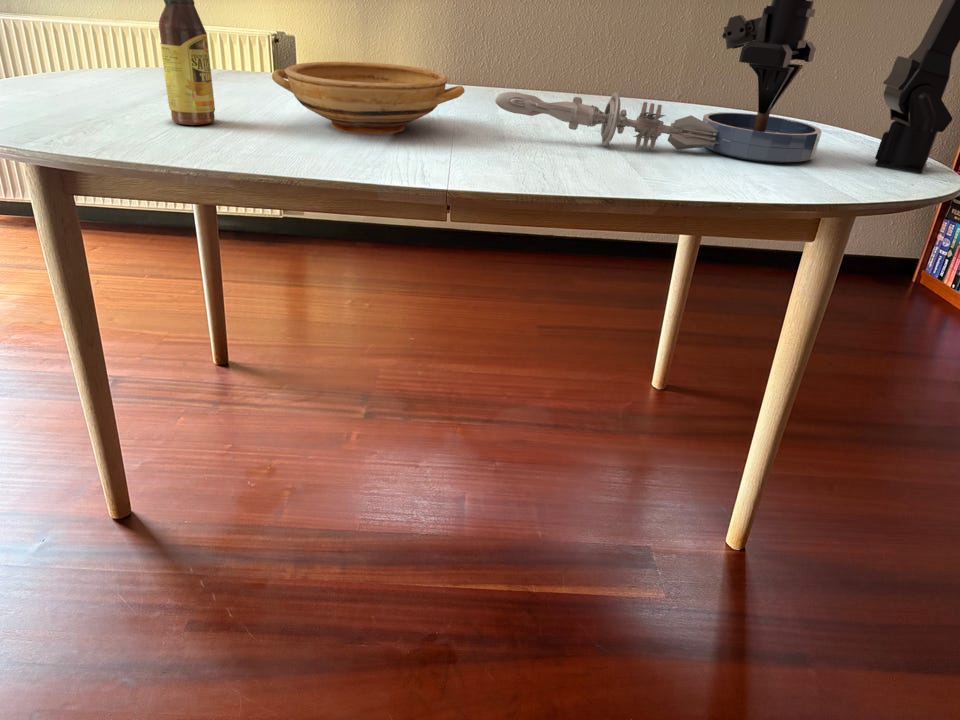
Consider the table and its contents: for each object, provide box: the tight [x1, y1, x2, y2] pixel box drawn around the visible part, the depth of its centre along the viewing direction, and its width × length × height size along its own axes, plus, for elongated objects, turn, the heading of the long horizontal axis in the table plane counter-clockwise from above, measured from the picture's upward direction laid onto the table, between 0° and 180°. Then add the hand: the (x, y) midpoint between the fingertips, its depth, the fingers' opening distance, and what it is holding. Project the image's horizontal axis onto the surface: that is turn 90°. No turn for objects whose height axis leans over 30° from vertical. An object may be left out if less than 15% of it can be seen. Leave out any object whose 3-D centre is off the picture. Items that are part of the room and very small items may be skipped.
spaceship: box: [494, 91, 720, 152], centre depth 104 cm, size 8×35×8 cm
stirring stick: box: [753, 105, 772, 132], centre depth 106 cm, size 4×4×12 cm
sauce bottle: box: [158, 0, 216, 126], centre depth 96 cm, size 7×6×20 cm
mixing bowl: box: [702, 111, 823, 164], centre depth 108 cm, size 18×18×4 cm
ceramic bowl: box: [271, 61, 465, 135], centre depth 104 cm, size 30×24×8 cm
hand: (764, 112), depth 106 cm, fingers closed on stirring stick, 2 cm apart
